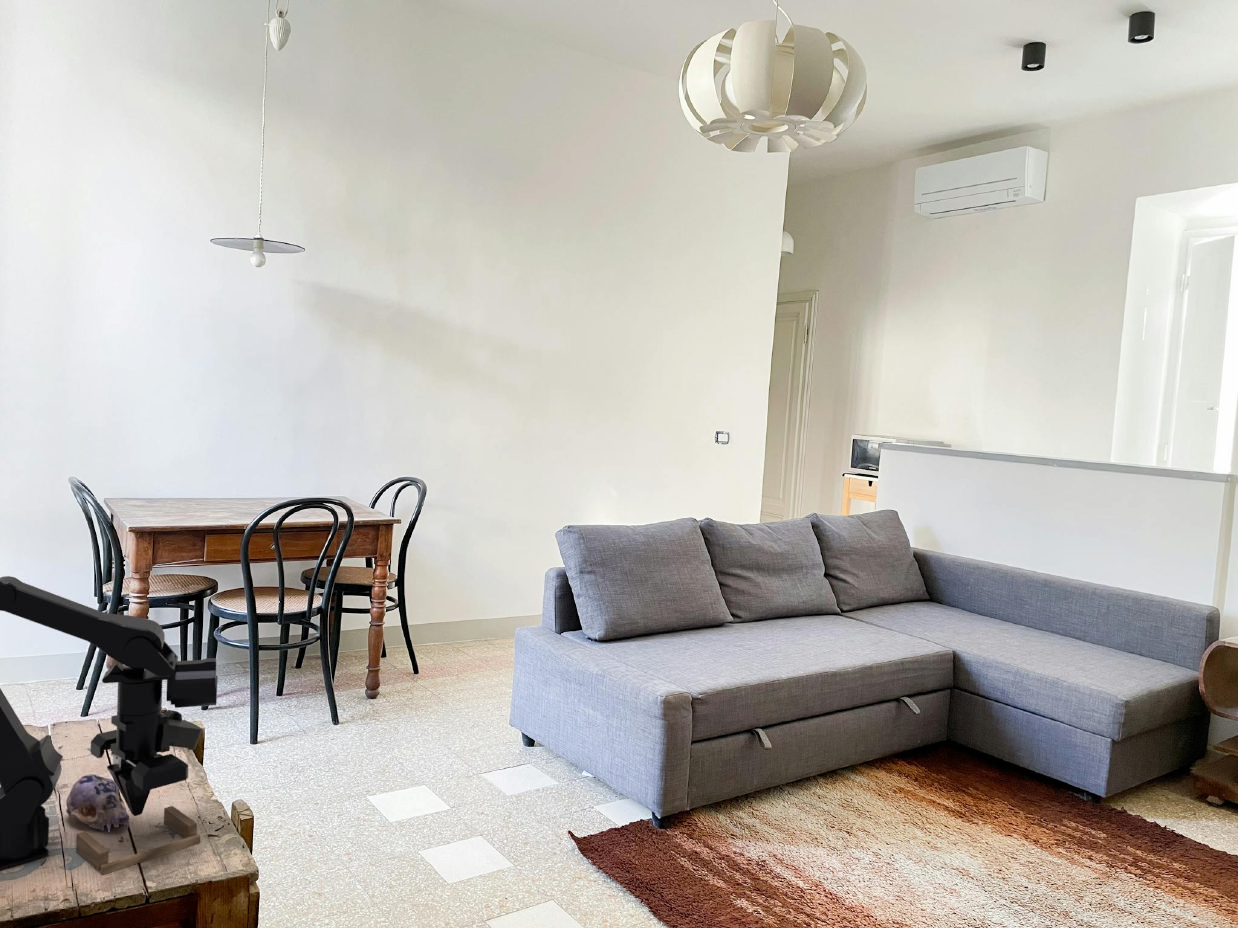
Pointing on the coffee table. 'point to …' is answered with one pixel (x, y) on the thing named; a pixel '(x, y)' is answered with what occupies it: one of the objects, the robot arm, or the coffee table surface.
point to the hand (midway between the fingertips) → (136, 814)
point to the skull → (97, 802)
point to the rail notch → (100, 855)
